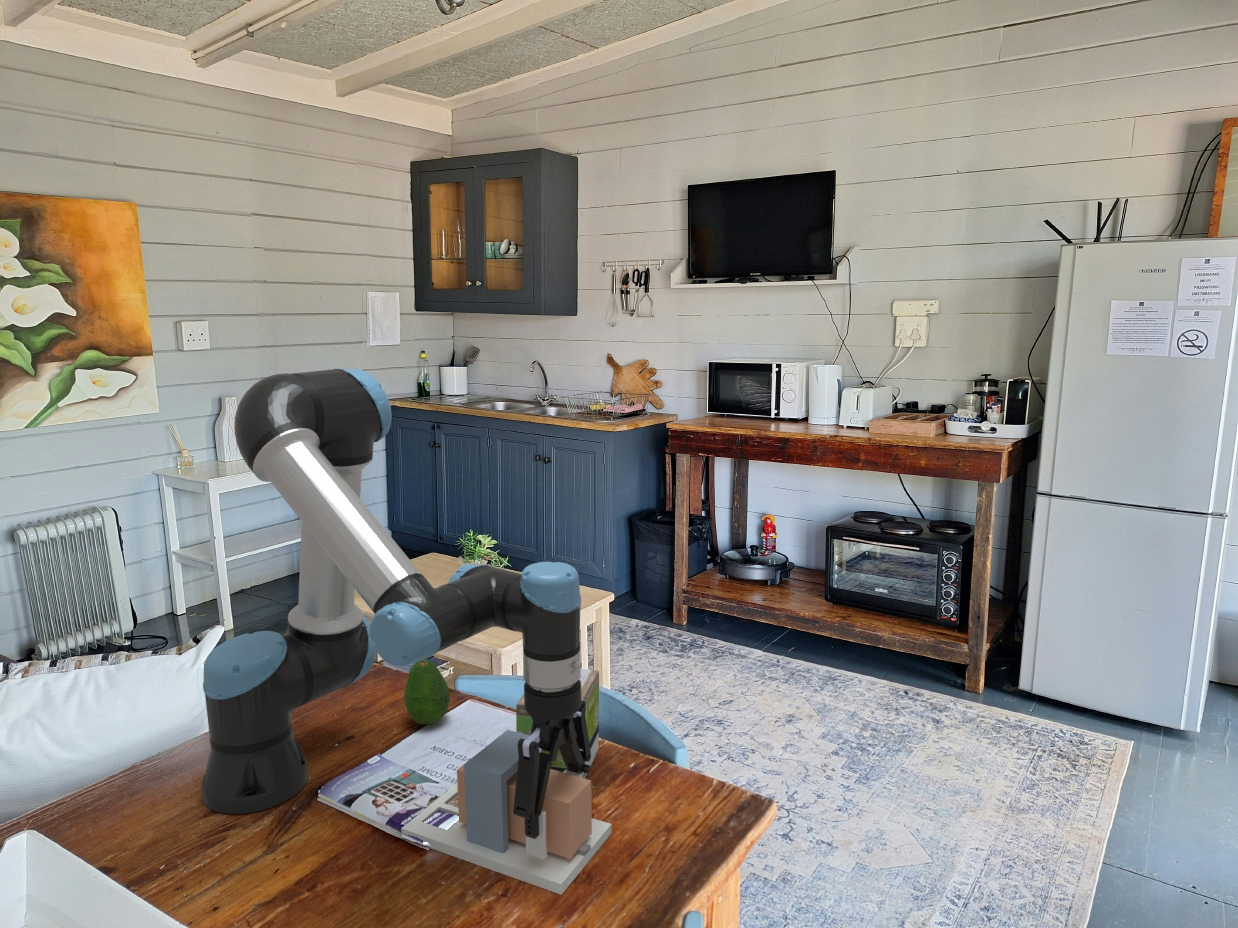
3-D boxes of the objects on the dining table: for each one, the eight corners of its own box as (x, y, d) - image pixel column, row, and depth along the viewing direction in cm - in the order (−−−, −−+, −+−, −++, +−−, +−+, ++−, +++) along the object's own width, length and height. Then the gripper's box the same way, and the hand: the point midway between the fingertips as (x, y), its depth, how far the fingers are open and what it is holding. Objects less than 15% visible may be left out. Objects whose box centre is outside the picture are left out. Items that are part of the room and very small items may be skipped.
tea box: (578, 800, 127) (577, 709, 124) (515, 792, 129) (512, 703, 126) (600, 749, 141) (599, 667, 139) (543, 743, 143) (541, 662, 141)
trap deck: (401, 837, 118) (396, 753, 116) (462, 787, 130) (459, 709, 128) (561, 894, 107) (559, 801, 104) (611, 833, 119) (611, 749, 116)
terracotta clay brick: (458, 821, 118) (456, 769, 117) (484, 799, 123) (482, 749, 122) (569, 858, 110) (569, 803, 109) (591, 833, 115) (591, 780, 114)
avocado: (396, 724, 150) (393, 662, 147) (430, 707, 156) (427, 647, 154) (427, 738, 145) (424, 673, 143) (460, 720, 151) (457, 657, 149)
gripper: (532, 722, 99) (536, 891, 103) (615, 654, 118) (615, 799, 122) (480, 709, 102) (486, 873, 107) (569, 645, 121) (571, 786, 126)
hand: (555, 834), depth 114 cm, fingers open, 9 cm apart
